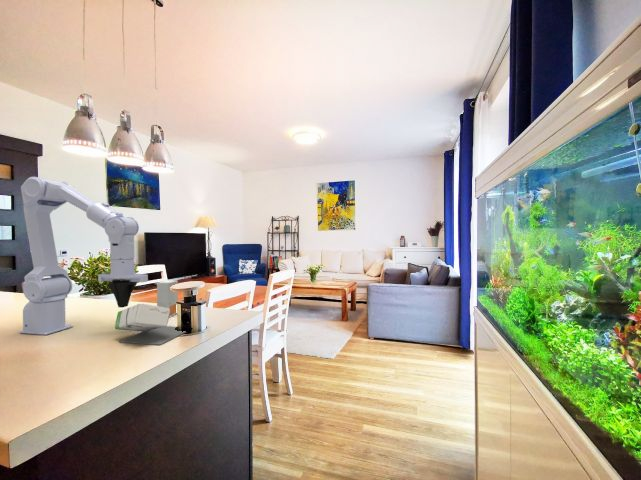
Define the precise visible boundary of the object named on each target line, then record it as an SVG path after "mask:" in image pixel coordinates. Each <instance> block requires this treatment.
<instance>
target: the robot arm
mask: <svg viewBox="0 0 641 480" xmlns="http://www.w3.org/2000/svg"><path fill="white" fill-rule="evenodd" d="M20 191H21V196H22V197H21V198H22V203H23V215H24V220H25V221H24V222H25V225H26V232H27V233H26V234H27V238H28V242H29V243H28V244H29V249H30V254H31V261H32V262H31V263H32V266H33V269H32V270H31V271H29V272H28V273H27V274H26V275H25V276H24V285H23V295H24V297H25V298H26V299H27V300H28V302H27V303H26V304H25V305H24V307H23V309H22V330H19V333H20V334H30V335H31V334H32V335H41V336H42V335H45V336H47V335H50V334H54V333H57V332H60V331H64V330H67V329H71V328H73V327H74V325H73V324H66V299H67V298H68V295H69V294H71V292H72V290H73V282H72V279H71V278H70V276H69V274H68V271H67V269H65V268H64V267H62V266H60V265H59V261H58V254H57V249H56V243H55V239H54V238H55V237H54V233H53V231H54V230H53V226H52V220H51V219H52V218H51V213H52V212H53V211H55V210H57V209H59V208H60V207H62V206H63V205H65V204H67V203H69V204H71V205H73V206H74V207H76V208H78V209H80V210H82V211H84V213H86V218H87V219H89V220H90V221H91V222H93V223H95V224H96V225H98V226H99V227H101V228H103V229H104V232H105V233H106V235H107V237H108V242H109V243H110V247H109V248H110V250H109V251H110V253H109V254H110V273H99V274H97V278H98V279H97V281H98V282H111V283H108V285H107V287H108V288H109V289H110V291H111V292H112V294H113V295H114V298H115V301H116V304H117V307H118V308H126V307H128V306H129V303H130V299H131V296H132V294H133V291H134V289H135V288H136V286H137V285H138V283H146V282H148V281H149V278H148V274H142V273H136V272H135V236H136V235H137V234H138V233H139V229H140V227H139V224H138V222H137V220H136V219H134V218H133V217H132V216H131V217H130V216H127V217H125V216H124V215H123V212H121V211H116V210H115V209H113V208H111V207H110V204H109V203H107V202H100V201H99V202H94V201H93V200H92V199H90V198H88V197H87V196H86V195H85V194H83V193H82V192H81V191H79V190H77V189H76V188H75V186H73V185H72V184H71V185H70V184H69V183H68V182H65V181H56V180H52V179H47V178H46V179H45V178H42V177H41V178H40V177H37V176H30V177H28V178H27V179H25V180H24V182H23V184H22V185H21V186H20ZM44 277H45V278H44Z"/></svg>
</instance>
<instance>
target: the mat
mask: <svg viewBox="0 0 641 480" xmlns="http://www.w3.org/2000/svg"><path fill="white" fill-rule="evenodd" d="M176 327H177V326H172V325H171V326H169V325H167V326H164V327H161V328H157V329H154V330H150V331H147V332H141V331H140V332H139V333H136V334H134V335H132V336H129V337H127V338H124V339H121V340H119V343H122V344H135V345H149V346H150V345H151V346H162V345H164V344H166V343H168V342H170V341H172V340H175V339H176V338H178V337H179V336H182V335H184V334H186V333H187V332H186V331H183V332H182V331H177V330H175V328H176Z"/></svg>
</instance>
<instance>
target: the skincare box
mask: <svg viewBox="0 0 641 480" xmlns="http://www.w3.org/2000/svg"><path fill="white" fill-rule="evenodd" d="M178 281H179V280H176V279H175V280H171V279H166V280H162V281H159V282H157V283H156V289H157V290H156V306H159V307H165V308H170V313H169V318H170V317H173V316H174V315H177V314H176V302H177V301H178V300H179V299H178V297H179V295H178V293H176V292H173V291H171V290H170V287H171V286H172V285H175V284H179V282H178ZM178 302H179V301H178Z"/></svg>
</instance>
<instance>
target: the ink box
mask: <svg viewBox="0 0 641 480" xmlns="http://www.w3.org/2000/svg"><path fill="white" fill-rule="evenodd" d="M169 313H170V308H165V307H159V306H157V305H152V304H145V303H137V304H134V305H133V306H130V307H127V308H125V309H122V310H119V311H118V312H117V315H116V320H115V323H114V330H118V331H129V332H130V331H131V332H140V333H141V332H147V331H150V330H154V329H157V328H161V327H164V326H168V323H169V318H170V317H169Z"/></svg>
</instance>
